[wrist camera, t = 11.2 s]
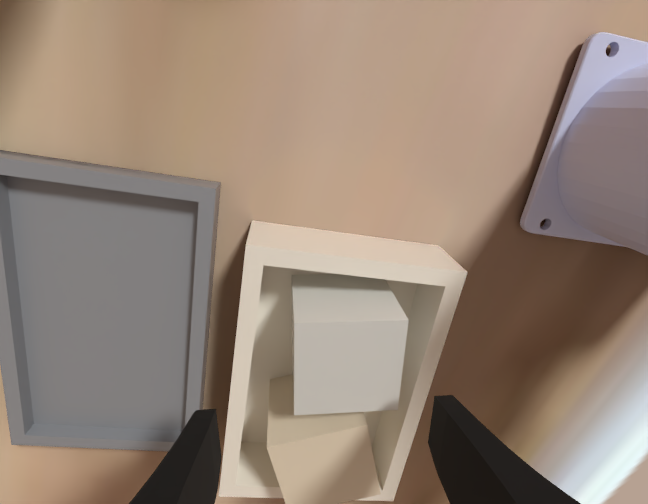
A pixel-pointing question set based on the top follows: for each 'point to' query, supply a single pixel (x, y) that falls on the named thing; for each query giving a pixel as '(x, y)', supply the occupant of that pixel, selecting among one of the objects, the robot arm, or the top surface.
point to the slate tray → (103, 302)
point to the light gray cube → (346, 344)
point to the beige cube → (318, 451)
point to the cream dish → (276, 341)
